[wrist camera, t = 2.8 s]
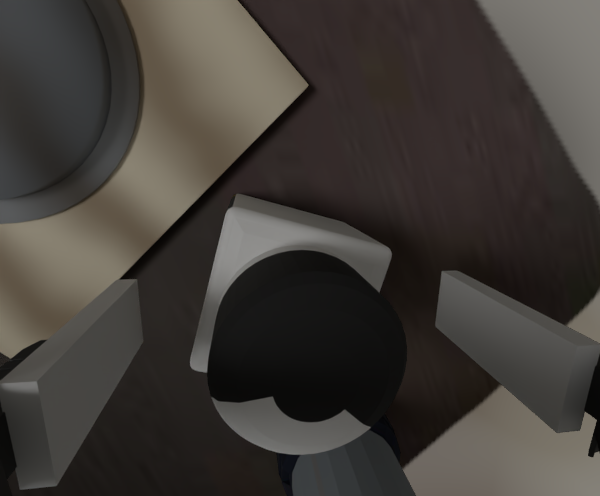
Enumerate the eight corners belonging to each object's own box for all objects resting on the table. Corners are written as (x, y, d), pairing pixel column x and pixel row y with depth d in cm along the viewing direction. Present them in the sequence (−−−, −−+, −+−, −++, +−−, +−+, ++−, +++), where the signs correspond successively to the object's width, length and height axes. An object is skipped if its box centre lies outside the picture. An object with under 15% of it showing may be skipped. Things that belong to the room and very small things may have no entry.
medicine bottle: (233, 191, 19) (217, 228, 8) (347, 222, 21) (472, 291, 9) (205, 304, 21) (157, 477, 9) (314, 326, 22) (390, 498, 11)
